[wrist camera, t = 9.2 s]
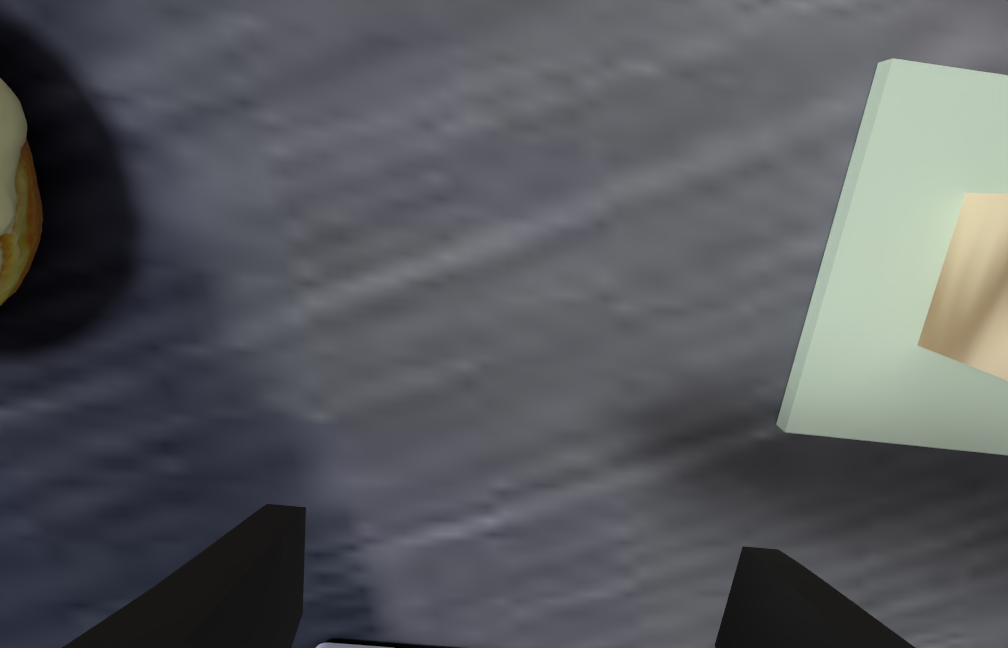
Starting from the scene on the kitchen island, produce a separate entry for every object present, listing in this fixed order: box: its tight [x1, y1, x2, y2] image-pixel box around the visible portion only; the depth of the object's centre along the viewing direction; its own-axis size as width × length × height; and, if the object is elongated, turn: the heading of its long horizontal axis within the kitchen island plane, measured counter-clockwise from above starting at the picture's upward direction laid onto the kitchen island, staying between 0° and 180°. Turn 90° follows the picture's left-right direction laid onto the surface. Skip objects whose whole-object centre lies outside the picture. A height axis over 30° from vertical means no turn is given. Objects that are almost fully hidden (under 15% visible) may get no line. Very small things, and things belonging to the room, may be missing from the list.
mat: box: [776, 59, 1008, 455], centre depth 18 cm, size 12×12×1 cm
